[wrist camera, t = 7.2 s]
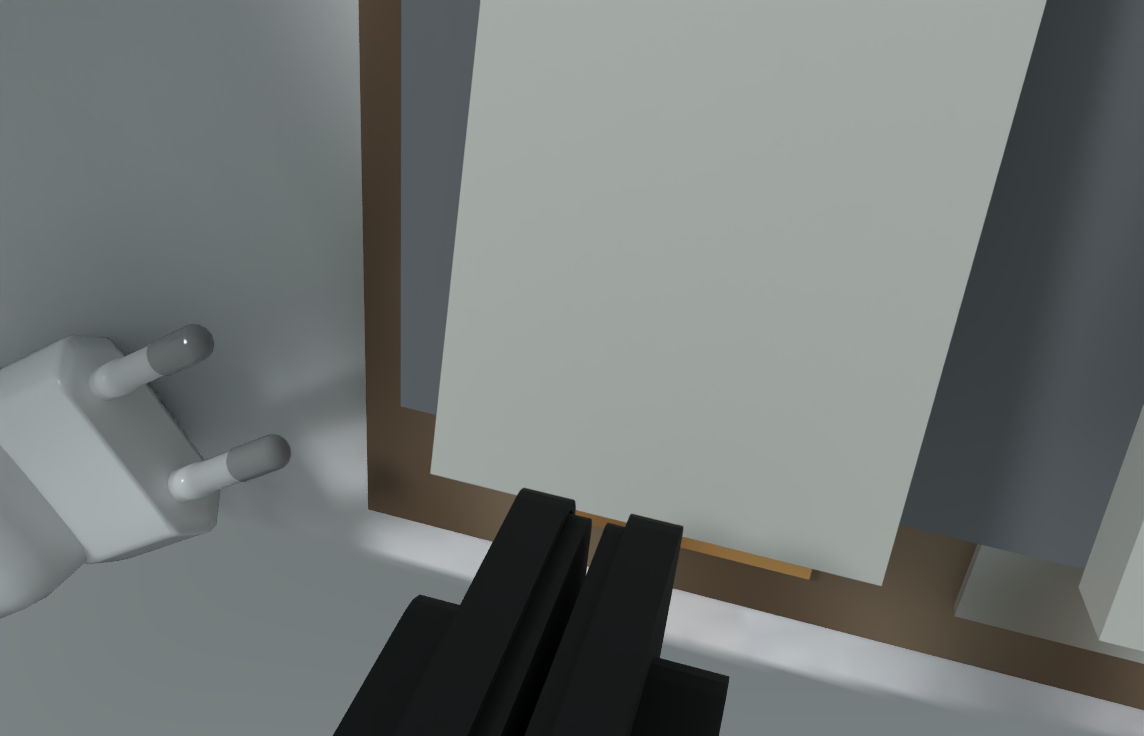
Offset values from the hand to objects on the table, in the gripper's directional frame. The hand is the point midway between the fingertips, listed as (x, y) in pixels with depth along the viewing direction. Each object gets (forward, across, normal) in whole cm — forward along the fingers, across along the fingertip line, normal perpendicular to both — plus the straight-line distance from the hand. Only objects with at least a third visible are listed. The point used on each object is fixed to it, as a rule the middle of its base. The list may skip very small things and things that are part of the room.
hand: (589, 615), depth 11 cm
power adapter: (+10, +13, +7) cm, 18 cm away
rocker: (+4, 0, -3) cm, 5 cm away
